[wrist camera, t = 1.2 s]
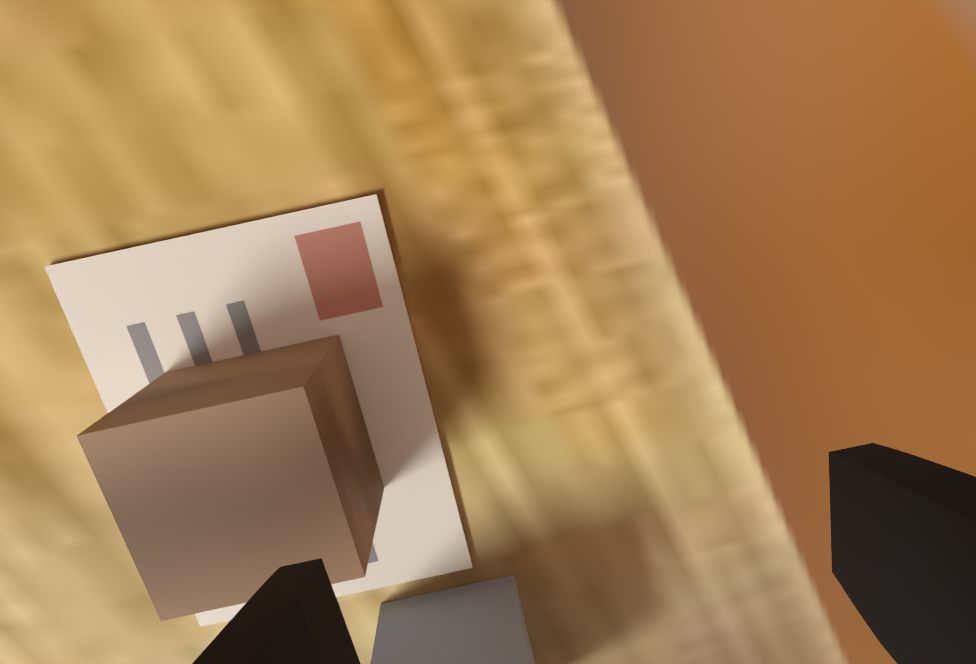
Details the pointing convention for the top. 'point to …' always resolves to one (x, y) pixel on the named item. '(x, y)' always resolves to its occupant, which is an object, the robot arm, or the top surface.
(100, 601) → the top surface
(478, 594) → the slate cube
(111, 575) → the top surface
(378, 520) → the letter
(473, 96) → the top surface
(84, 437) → the walnut block
